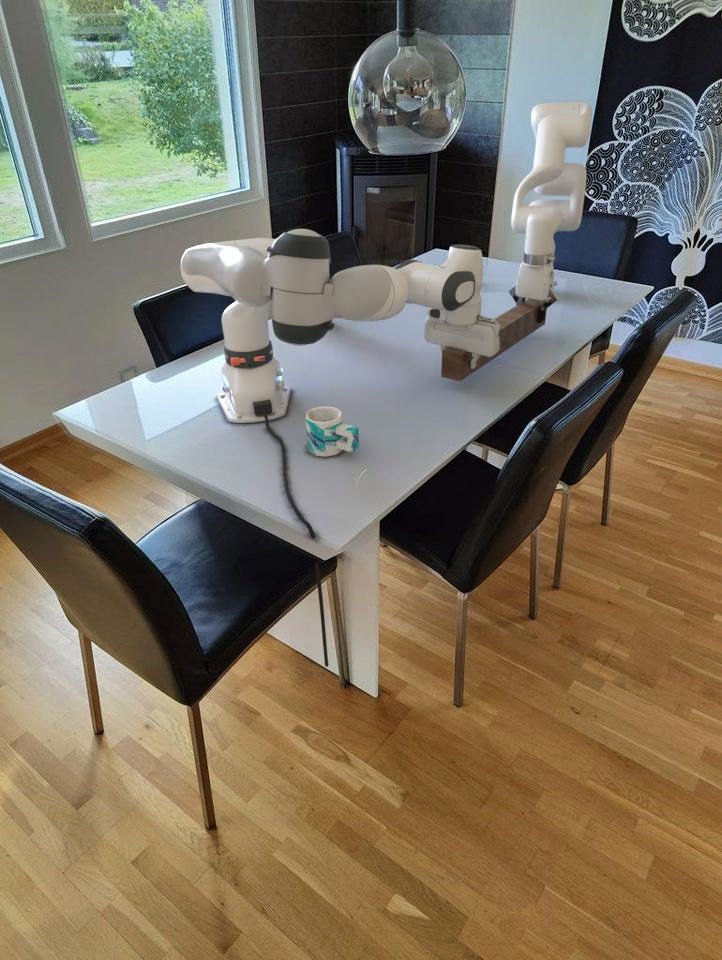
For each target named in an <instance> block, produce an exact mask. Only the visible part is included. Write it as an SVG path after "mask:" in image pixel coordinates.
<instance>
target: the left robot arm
mask: <svg viewBox="0 0 722 960" xmlns="http://www.w3.org/2000/svg"><path fill="white" fill-rule="evenodd" d="M329 258H331V250H330V244H329V241H328V239H327V238H326V237H325V236H323V235H322V234H319V233H317V232H316V231H314V230H311V229H307V228H296V229H292V230H289V231H284V232H283V233H281V234H280V235H279V236H278V237H277V238H271V237H270V238H269V237H254V238H245V239H237V240H236V239H235V240H226V241H218V242H207V243H203V244H200V245H196V246H193V247H190V248H188V249H186V250H185V251H184V253H183V254H182V257H181V260H180V266H179V267H180V274H181V277H182V279H183V282H184V283H185V285H186V286H187V287H188V288H189V289H190V290H191V291H192V292H194V293H205V294H215V295H221V296H225V297H231V298H232V299H233V300H234V302H233V303H231V304H229V306H227V307H226V308H225V309H224V311H223V312H222V315H221V327H222V333H223V334H222V335H223V340H224V345H223V355H224V359H225V363H224V364H223V365H222V366H221V367H220V369H221V377H222V383H223V386H222V392H219V393H218V394H217V401H218V403H219V404H220V405H219V406H220V407H221V409H222V411H223V413H224V415H225V418H226V419H227V421H228V422H229V423H235V424H236V423H237V424H249V423H258V422H265V427H266V430H267V431H268V434H270V435H271V436H272V437H273V438H275V439H276V440H277V441H278V443H279V444H280V448H281V458H282V478H283V485H284V490H285V494H286V497H287V500H288V502H289V505H290V506H291V507H292V510H293V511H294V513H295V514H296V516H297V517H298V519H299V520H300V521H301V522H302V523H303V524H304V525H305V526H306V529H308V532H309V534H310V538H311V539H315V538H316V535H315V532H314V529H313V527H312V525H311V524H310V522H309V521H307V520H306V518H305V517H304V516H303V515H302V513H301V512H300V510H299V508H298V507H297V505H296V504H295V502H294V499H293V498H292V497H293V496H292V495H291V492H290V489H289V483H288V475H287V458H286V457H287V456H286V448H285V443H284V441H283V440H282V438H281V437H280V436H279V435H277V434H276V433H274V431H273V430H272V429H271V427H270V423H269V421H272V420H276V419H279V418H283V417H284V416H285V415H286V413H287V409H288V405H289V399H290V396H291V392H292V391H291V387H290V386H288V385H285V381H284V380H282V378H283V372H284V370H283V368H282V367H281V364H280V361H279V360H278V359H276V358H275V357H274V348H273V347H274V346H273V344H272V341H271V339H270V331H269V330H270V329H269V309H270V306H271V307H272V319H271V325H272V330H273V331H272V332H273V334H274V336H275V338H277V339H278V340H279V341H281V342H283V343H286V344H288V345H291V346H296V347H300V346H302V347H303V346H307V345H312V344H315V343H318V342H319V341H320V340H322V339H323V338H324V337H325V336H326V335H327V333H328V331H329V332H330V331H332V330H334V328H335V326H336V325H335V324H334V323H333V320H334V319H342V320H346V321H353V322H377V321H384V320H388V319H391V318H394V317H396V316H397V315H399V314H400V313H402V311H403V310H404V308H405V306H406V304H412V305H418V306H421V307H426V308H427V309H426V316H427V317H426V319H425V320H424V326H423V327H424V328H423V339H424V340H425V342H426V343H429V344H433V345H434V344H435V345H438V346H440V351H441V352H442V350H443V349H445V348H446V347H452V348H456V349H460V350H465V351H467V352H471V353H472V357H474V358H473V359H471V360H470V361H468V368H472V369H474V368H475V367H476V361H477V360H478V358H479V357H480V355H484V356H488V357H492V356H493V355H495V354H496V353H497V352H498V351H499V346H500V341H499V333H500V325H499V323H498V322H497V321H495V318H493V317H487V316H484V315H481V311H482V310H481V309H482V295H481V289H482V286H483V280H484V261H483V260H484V259H483V254H482V250H481V249H480V248H479V247H477V246H474V245H469V244H452V245H450V246H449V249H448V253H447V259H446V260H445V261H444V262H443V263H442V264H441V265H438V264H435V265H434V264H433V263H427V262H423V261H420V260H416V259H412V258H410V259H406V260H404V261H402V262H400V263H399V264H398V265H396V266H394V267H392V266H389V265H382V264H365V265H364V264H363V265H357V266H353V267H348V268H346V269H345V268H344V269H343V270H340V271H338V272H336V273H335V274H334V275H333V276H331V278H330V264H329ZM271 303H272V304H271ZM270 304H271V305H270ZM331 321H332V322H331ZM314 569H315V575H316V576H315V577H316V585H317V594H318V604H319V615H320V624H321V626H320V627H321V635H322V637H321V638H322V649H323V661H324V667H325V668H328V667H329V657H328V655H329V654H328V645H327V643H328V642H327V633H326V631H327V630H326V621H325V620H326V619H325V610H324V608H325V607H324V598H323V588H322V581H321V572H320V563H319V562H314Z"/></svg>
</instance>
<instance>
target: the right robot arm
mask: <svg viewBox="0 0 722 960" xmlns="http://www.w3.org/2000/svg"><path fill="white" fill-rule="evenodd" d="M592 119H593V109H592V106H591V104H590V103H588V102H583V101H572V102H570V101H569V102H567V101H566V102H565V101H564V102H562V101H561V102H560V101H558V102H543V103H538V104H536V105H534V106H533V108H532V109H531V111H530V125H531V130H532V133H533V136H534V139H535V145H534V146H535V147H534V153H533V155H534V156H533V164H532V168H531V169H532V170H531V171H530V172H529V173H528V174H527V175H526V176H525V177H524V178H523V179H522V180H521V181H520V182H519V185H518V187H516V190H515V192H514V196H513V201H512V209H511V217H510V226H511V229H512V231H513V232H514V233H516V234H524V235H525V241H524V251H523V260H522V261H521V263H520V266H519V268H518V272H517V278H516V283H515V285H513V286H512V287H511V289H510V290H509V291H508V294H509V295H510V297H511V298H512V299H513V301H514V302H515V306H517V305H519V304H520V303H522V302H524V301H525V300H527V299H534V300H539V304H540V310H539V312H538V321H537V323H539V324H540V323H541V322H543V321H544V320H545V317H546V318H547V311H546V309H547V310H548V308H549V307H551V306H552V305H553V304H555V303H556V302H558V301H559V296H558V295H557V293H556V292H555V290H554V289H555V288H554V287H556V286H558V281H557V280H556V279H555V269H554V268H555V267H554V262H556V258H557V257H556V256H555V252H556V243H555V240H554V235H555V234H556V233H557V232H574V231H577V230H578V229H579V228H580V226H581V222H582V217H583V211H584V210H583V209H584V203H585V195H586V187H587V169H586V167H585V165H584V164H582V163H579V162H565V156H566V149H567V148H576V149H579V148H583V147H586V145H587V143H588V142H589V139H590V135H591V131H592ZM533 190H534V192H535V193H536V194H537V195H539V196H547V197H548V196H551V197H554V196H555V197H568V198H569V199H550V198H549V199H547V198H546V199H536V200H533V201H532V202H530V203H529V204H527V205H526V204H525V205H524V200H525V198H526V196H527V195H528V194H529V193H530V192H531V191H533ZM547 300H548V302H547ZM545 321H546V320H545Z"/></svg>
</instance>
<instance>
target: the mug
mask: <svg viewBox="0 0 722 960" xmlns="http://www.w3.org/2000/svg"><path fill="white" fill-rule="evenodd" d="M305 427H306V438H307V439H306V440H307V449H308V452H309V453H311V454H312V455H314V456H315V457H325V458H327V457H333V456H336V455H339V454H340V453H341V452H342V451H346V452H349V453H352V454H353V453H354V452H356V451H357V450H359V448H360V438H359V437H360V436H359V427H357V426H354V425H351V424H347V423H344V422H343V411H342V410H340V409H339V408H337V407H335V406H325V405H324V406H323V405H322V406H318V407H313V408H311V409H310V410H308V411H307V412H305Z"/></svg>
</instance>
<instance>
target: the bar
mask: <svg viewBox="0 0 722 960" xmlns="http://www.w3.org/2000/svg"><path fill="white" fill-rule="evenodd" d="M547 302H549V300H547ZM539 310H540V304H539V300H534V299H527V300H525V301H524V302H522V303H520V304H519V305H515V306H513V307H512V308H511V309H508V310H507V311H505V312H504V313H502V314H500V315H499V316H496V317H495V318H494V319H495V321H497V322H498V323H499V325H500V333H499V341H500V346H499V351H498V352H497V353H496V354H495V355H493V356H492V357H488V356H484V355H480V357H479V358H478V360H477V361H476V367H475V368H474V369H472V368H468V361H470V360H471V359H473V358H474V357H472V353H471V352H467V351H465V350H460V349H456V348H452V347H446V348H445V349H443V350H442V351H441V371H440V372H441V373H440V377H441V378H444V379H448V380H453V381H456V382H462V381H464V380H465V379H466V378H468V377H469V376H471V375H472V374H473V373H475V372H477V371H478V370H480V369H481V368H483V367H484V366H486V365H487V364H488V363H490V362H491V361H493V360H494V359H496V358H497V357H499V356H500V355H502V354H503V353H504V352H506V351H507V350H509V349H511V348H512V347H514V346H515V345H517V344H518V343H519V342H521V341H522V340H524V339H526V338H527V337H528V336H530V335H532V334H534V332H536V331H537V330H539V329H540V328H542V327H543V326H544V325H546V319H547V316H546V317H545V320H544V321H543V322H541V323H540V324H539V323H537V321H538V312H539ZM547 310H548V308H547V309H546V312H547Z"/></svg>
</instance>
